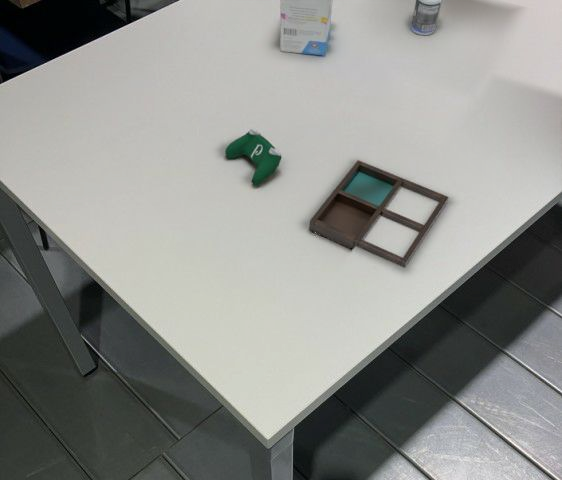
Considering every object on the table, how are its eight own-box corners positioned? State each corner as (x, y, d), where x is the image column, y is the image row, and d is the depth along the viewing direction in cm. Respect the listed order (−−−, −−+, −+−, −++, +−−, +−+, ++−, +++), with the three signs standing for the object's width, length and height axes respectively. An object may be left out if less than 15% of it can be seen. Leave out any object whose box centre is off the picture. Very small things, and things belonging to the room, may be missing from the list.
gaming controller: (267, 192, 98) (290, 160, 96) (253, 185, 95) (276, 152, 93) (235, 159, 102) (256, 128, 100) (220, 152, 99) (242, 119, 97)
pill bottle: (415, 19, 121) (424, -27, 114) (438, 26, 120) (449, -20, 113) (407, 31, 119) (416, -15, 112) (430, 38, 118) (441, -8, 111)
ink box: (331, 31, 118) (338, -45, 107) (325, 57, 114) (331, -20, 103) (286, 26, 119) (288, -51, 108) (279, 51, 115) (280, -26, 103)
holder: (445, 206, 95) (448, 196, 93) (403, 272, 88) (405, 263, 86) (356, 170, 99) (357, 159, 97) (308, 230, 92) (309, 220, 90)
